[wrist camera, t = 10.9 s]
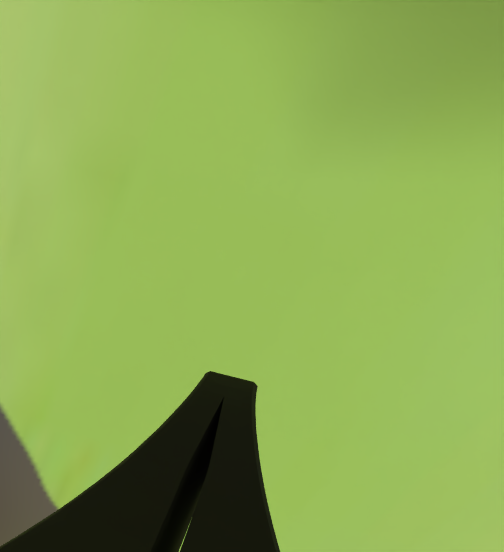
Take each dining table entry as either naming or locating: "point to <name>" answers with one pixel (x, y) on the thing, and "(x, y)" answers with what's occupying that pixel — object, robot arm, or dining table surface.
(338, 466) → the dining table surface
